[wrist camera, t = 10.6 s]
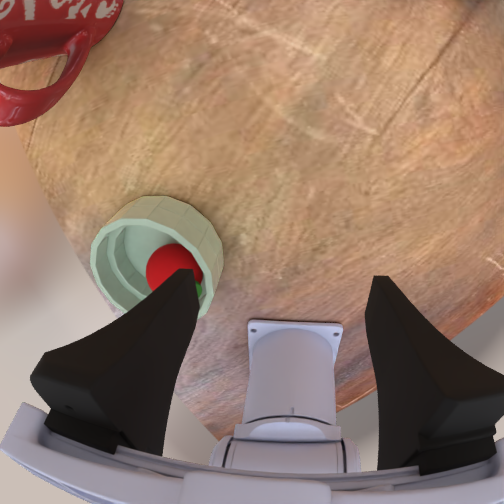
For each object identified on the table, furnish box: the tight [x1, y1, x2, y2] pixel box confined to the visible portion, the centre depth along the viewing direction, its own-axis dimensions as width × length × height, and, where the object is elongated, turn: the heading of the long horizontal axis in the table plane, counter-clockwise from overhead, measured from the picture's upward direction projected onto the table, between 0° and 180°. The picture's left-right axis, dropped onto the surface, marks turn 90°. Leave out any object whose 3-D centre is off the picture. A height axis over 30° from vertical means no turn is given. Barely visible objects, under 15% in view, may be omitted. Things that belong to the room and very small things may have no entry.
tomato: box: [146, 243, 203, 298], centre depth 22 cm, size 4×4×4 cm
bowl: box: [90, 196, 224, 320], centre depth 22 cm, size 9×9×4 cm
